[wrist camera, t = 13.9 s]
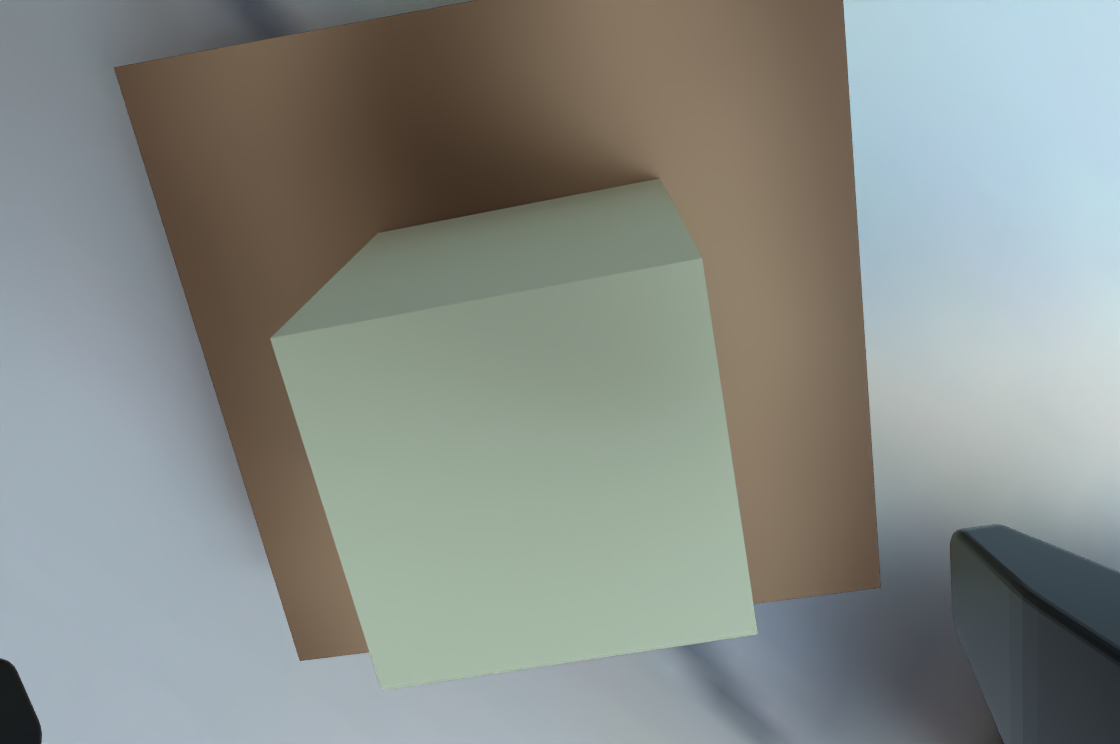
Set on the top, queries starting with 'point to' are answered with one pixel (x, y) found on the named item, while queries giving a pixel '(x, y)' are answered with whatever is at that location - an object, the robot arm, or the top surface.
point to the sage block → (523, 438)
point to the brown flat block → (522, 178)
